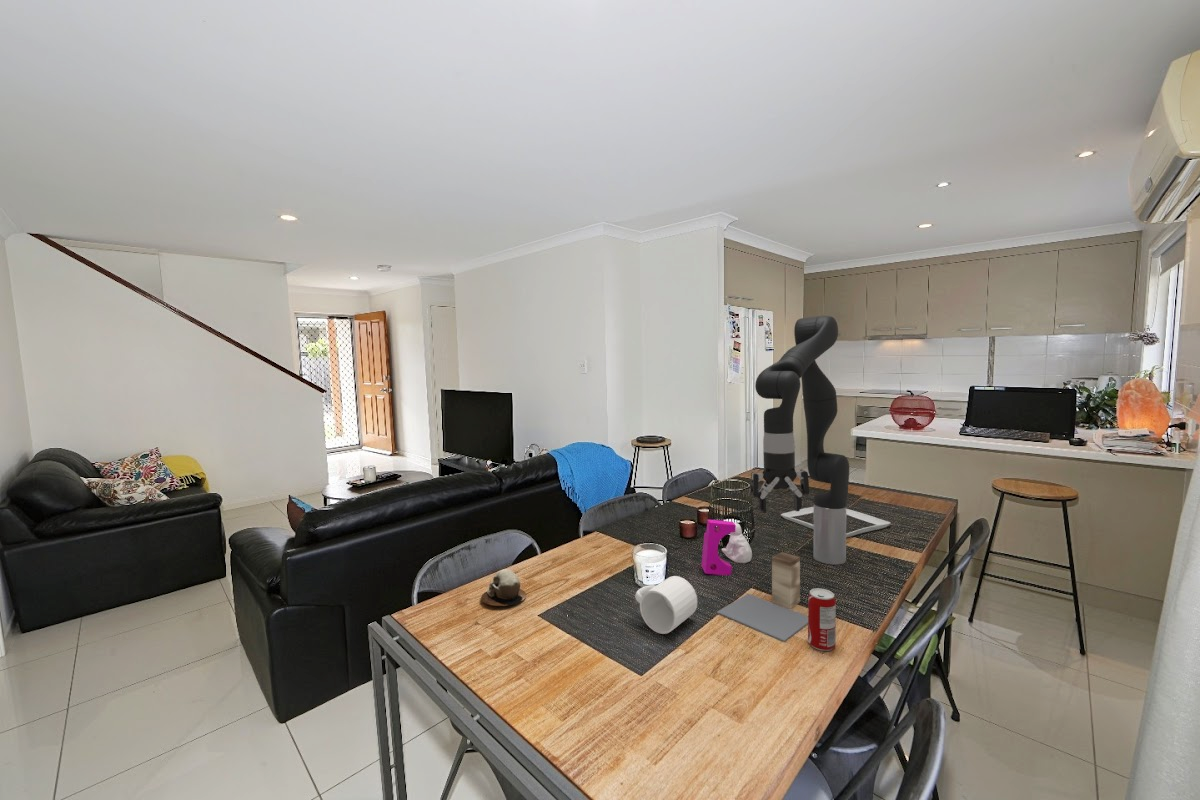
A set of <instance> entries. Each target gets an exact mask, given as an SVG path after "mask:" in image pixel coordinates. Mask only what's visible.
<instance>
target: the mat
mask: <svg viewBox="0 0 1200 800" xmlns="http://www.w3.org/2000/svg"><path fill="white" fill-rule="evenodd" d="M716 614H718V615H719V616H722V617H724V618H727V619H729V620H731V621H734V622H737V624H741V625H743V626H746V627H748V628H749V629H753V630H755V631H757V632H759V633H762V634H764V635H766V636H769V637H771V638H774V639H776V640H778V641H781V642H782V643H783V642H784V643H786V642H787V641H788V640H789V639H791V638H792V637H793V636H795V635H796V634H797V633H798V632H799V631H801V630H802V629H804V628H806V626H808V614H807V615H806V614H803V613H801V612H798V611H796V610H793V609H792V608H791V609H789V608H786V607H784V606H781V605H778V604H776V603H773V602H772V601H769V600H766V599H763V598H761V597H758V596H755V595H753V594H750V593H746V594H744V595H743V596H741V597H740V598H738V599H736V600H735V601H733V602H731V603H730V604H728V605H726V606H724V607H723V608H721V609H719V610H717V611H716Z"/></svg>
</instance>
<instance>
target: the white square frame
mask: <svg viewBox="0 0 1200 800" xmlns="http://www.w3.org/2000/svg"><path fill="white" fill-rule="evenodd" d="M808 514H814V506H811V507H804V508H801V509H800V511H795V510H791V511H788V512H784V513H780V516H781V517H782V518H783V519H785V520H787V521H789V522H792V523H795V524H797V525H798V524H799V525H801V526H803V527H805V528H808V529H811V530H813V531H814V523H813V524H812V523H810V522H806V521H804V520H800V519H798V518H796V517H799V516H803V515H804V516H805V515H808ZM846 516H850V517H853V518H855V519H858V520H861V521H865V522H867V523H870V524H873V525H870V526H866V527H863V528H859V529H856V530H854V531H850V532H846V538H850V537H854V536H857V535H860V534H864V533H868V532H873V531H876V530H877V531H878V530H881V529H885V528H887V527H888V526H890V525H891V521H888V520H884V519H883V518H882V519H881V518H878V517H875V516H873V515H869V514H866V513H863V512H859V511H857V510H852V509H849V508H846ZM794 517H795V518H794Z"/></svg>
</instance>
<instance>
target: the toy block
mask: <svg viewBox="0 0 1200 800" xmlns="http://www.w3.org/2000/svg"><path fill="white" fill-rule="evenodd" d="M734 523H735V522H733V521H729V520H718V519H707V523H706V532H704V533H703V534H704V535H703V543H702V557H701V565H700V566H701V568H702V571H703V572H704V574H706V575H716V576H731V575H732V571H733V570H732V569H733V567H732V565H731V564H730V562H729V561H726V560H724V559H722V558H721V557H720V555H719V552H718V547H719V544H720V541H721V540H722V539H723V538H724V537H725V536H727V535H729V534H730V533H731V532H735V528H736V525H735V524H734Z"/></svg>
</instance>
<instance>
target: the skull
mask: <svg viewBox="0 0 1200 800" xmlns="http://www.w3.org/2000/svg"><path fill="white" fill-rule="evenodd" d="M526 598H527V593H526V592H525V590H523V589H521V581H520V578H519V577H518V575H517V574H516V573H515V572H513V570H510V569H508V568H504V569H501V570H499V571H496V573H495V574H494V576H493V577H492V580H491V581H490V582H489V584H488V588H487V590H486V592H484V593H482V595H481V597H480V601H482V602H483V604H486V605H489V606H493V607H494V606H495V607H496V606H497V607H502V606H503V607H505V606H512V605H516V604H519V603H521V602H523V601H524V600H525V599H526Z"/></svg>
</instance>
